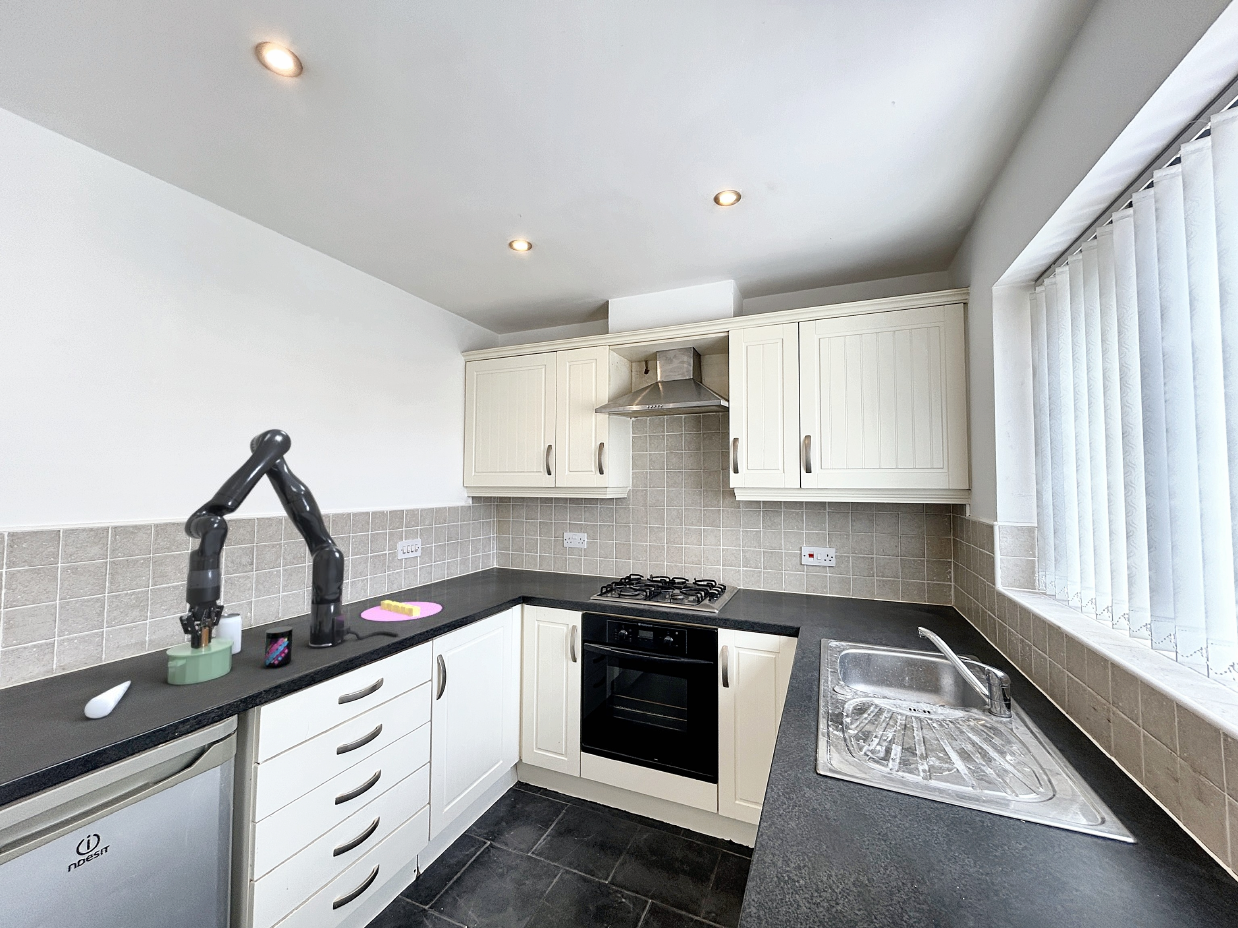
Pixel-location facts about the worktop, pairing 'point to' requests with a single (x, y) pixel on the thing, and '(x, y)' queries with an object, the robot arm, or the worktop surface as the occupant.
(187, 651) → the pan lid
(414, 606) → the platter
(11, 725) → the worktop surface
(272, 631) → the supplement container
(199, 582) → the robot arm
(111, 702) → the unicorn horn
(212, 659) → the pan
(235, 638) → the can
